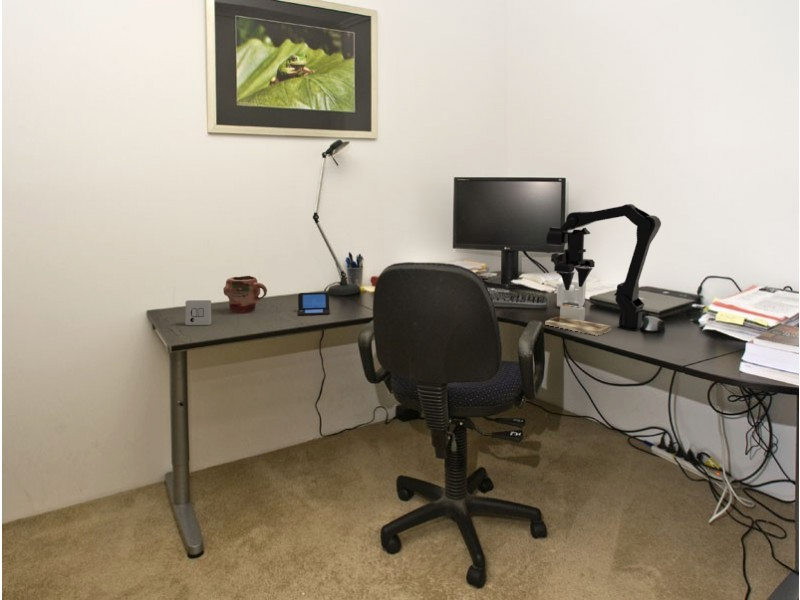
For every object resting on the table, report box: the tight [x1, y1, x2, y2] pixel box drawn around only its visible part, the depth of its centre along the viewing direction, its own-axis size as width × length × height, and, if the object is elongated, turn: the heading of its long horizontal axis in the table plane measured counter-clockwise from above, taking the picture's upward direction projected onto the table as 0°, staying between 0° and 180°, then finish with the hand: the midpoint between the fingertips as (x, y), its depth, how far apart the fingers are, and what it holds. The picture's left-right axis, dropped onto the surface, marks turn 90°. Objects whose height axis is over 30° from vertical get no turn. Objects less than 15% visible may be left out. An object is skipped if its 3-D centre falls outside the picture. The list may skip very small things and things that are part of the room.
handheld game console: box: [297, 292, 331, 317], centre depth 225 cm, size 12×11×7 cm
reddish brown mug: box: [222, 275, 268, 314], centre depth 228 cm, size 20×12×14 cm, turn 77°
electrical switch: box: [184, 299, 213, 326], centre depth 209 cm, size 9×5×9 cm, turn 90°
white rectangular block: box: [559, 303, 586, 321], centre depth 210 cm, size 8×4×5 cm, turn 43°
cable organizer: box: [556, 276, 587, 308], centre depth 233 cm, size 15×11×12 cm
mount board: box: [544, 316, 613, 337], centre depth 198 cm, size 20×10×2 cm, turn 43°
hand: (573, 288), depth 209 cm, fingers open, 9 cm apart
